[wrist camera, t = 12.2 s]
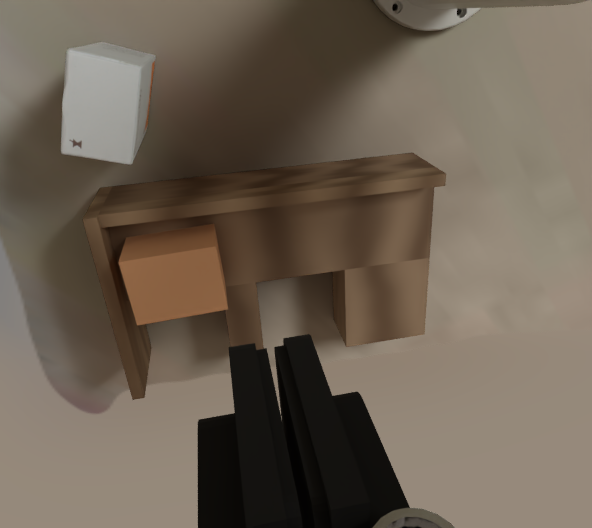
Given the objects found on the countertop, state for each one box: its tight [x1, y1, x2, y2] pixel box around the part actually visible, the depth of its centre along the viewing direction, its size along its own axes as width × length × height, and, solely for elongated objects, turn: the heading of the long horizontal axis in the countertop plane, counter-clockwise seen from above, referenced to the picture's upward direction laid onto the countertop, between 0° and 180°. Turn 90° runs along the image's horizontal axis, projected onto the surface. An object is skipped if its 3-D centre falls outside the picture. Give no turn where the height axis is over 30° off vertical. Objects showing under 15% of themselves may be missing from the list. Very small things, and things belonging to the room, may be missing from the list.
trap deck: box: [82, 153, 446, 400], centre depth 45 cm, size 28×17×8 cm, turn 94°
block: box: [118, 224, 228, 326], centre depth 39 cm, size 7×6×4 cm
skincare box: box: [61, 42, 156, 165], centre depth 34 cm, size 6×4×12 cm
